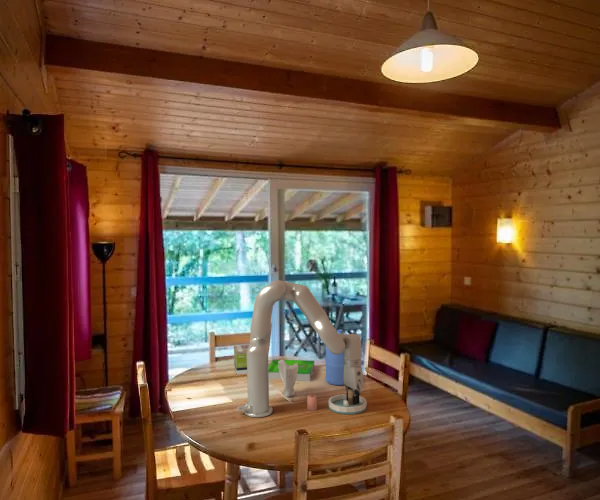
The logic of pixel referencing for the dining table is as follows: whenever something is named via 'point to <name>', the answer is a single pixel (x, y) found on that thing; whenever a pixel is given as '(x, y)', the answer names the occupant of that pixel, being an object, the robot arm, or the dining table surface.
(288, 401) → the dining table surface
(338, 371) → the water jug
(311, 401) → the coral bead
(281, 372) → the shell sculpture
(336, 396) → the groove dish
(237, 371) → the tea box
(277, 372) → the tray
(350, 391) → the walnut bead
